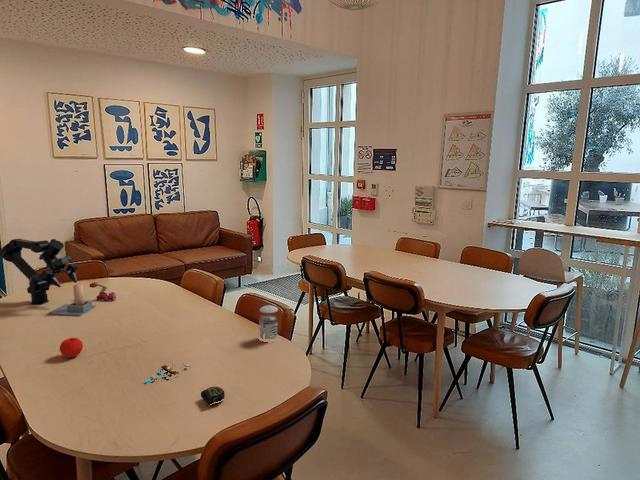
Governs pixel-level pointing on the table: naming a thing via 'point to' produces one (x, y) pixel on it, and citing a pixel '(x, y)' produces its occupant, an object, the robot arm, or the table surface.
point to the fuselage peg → (79, 295)
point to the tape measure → (213, 395)
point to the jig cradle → (73, 309)
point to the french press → (268, 319)
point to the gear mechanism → (163, 373)
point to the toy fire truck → (103, 293)
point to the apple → (71, 347)
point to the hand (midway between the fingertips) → (68, 284)
